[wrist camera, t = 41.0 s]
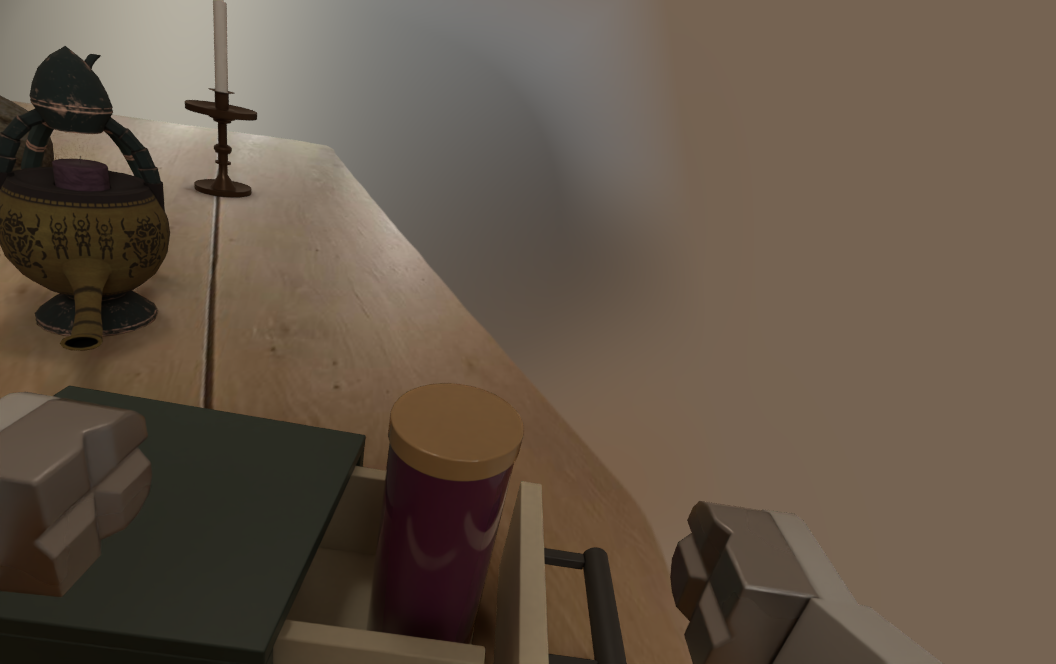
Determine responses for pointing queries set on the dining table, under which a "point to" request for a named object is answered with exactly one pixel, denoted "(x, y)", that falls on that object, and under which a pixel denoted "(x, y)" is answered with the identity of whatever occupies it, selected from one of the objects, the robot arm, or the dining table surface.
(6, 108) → the vase
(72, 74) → the teapot
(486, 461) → the canister
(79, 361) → the dining table surface
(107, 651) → the cabinet
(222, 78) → the candlestick
